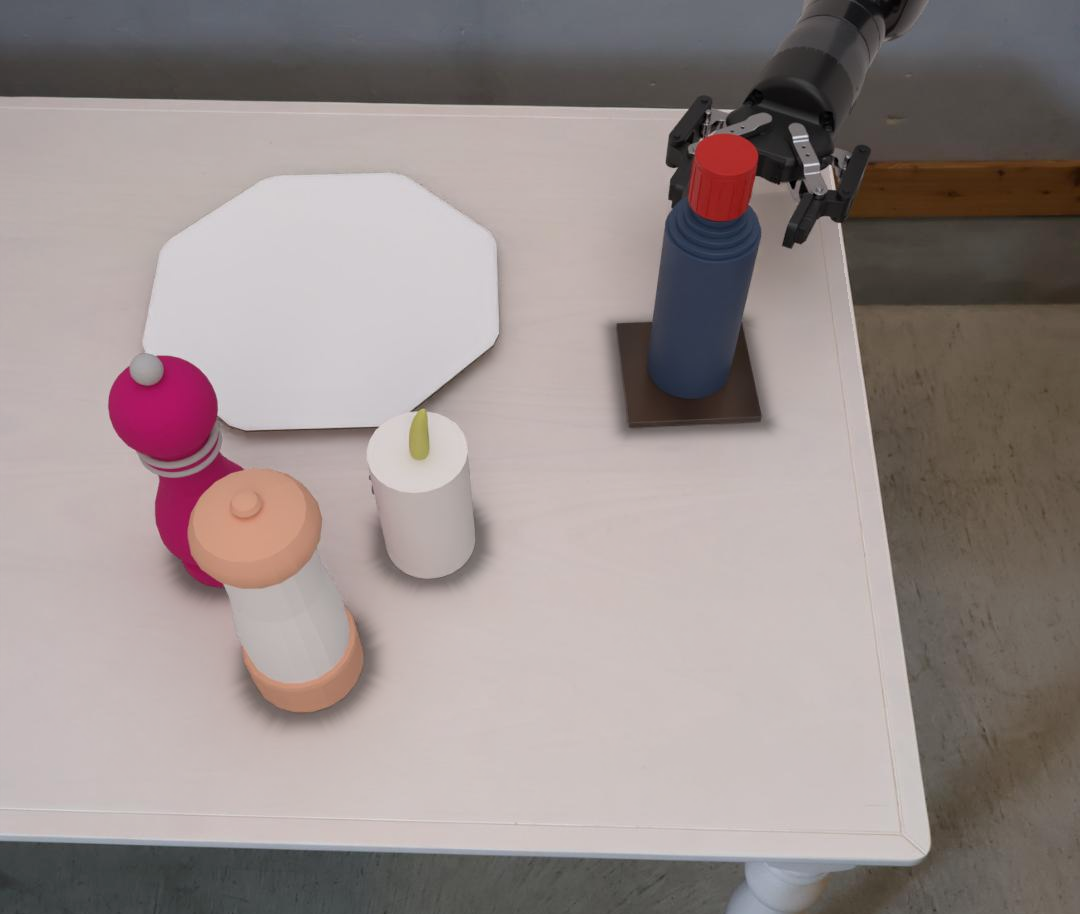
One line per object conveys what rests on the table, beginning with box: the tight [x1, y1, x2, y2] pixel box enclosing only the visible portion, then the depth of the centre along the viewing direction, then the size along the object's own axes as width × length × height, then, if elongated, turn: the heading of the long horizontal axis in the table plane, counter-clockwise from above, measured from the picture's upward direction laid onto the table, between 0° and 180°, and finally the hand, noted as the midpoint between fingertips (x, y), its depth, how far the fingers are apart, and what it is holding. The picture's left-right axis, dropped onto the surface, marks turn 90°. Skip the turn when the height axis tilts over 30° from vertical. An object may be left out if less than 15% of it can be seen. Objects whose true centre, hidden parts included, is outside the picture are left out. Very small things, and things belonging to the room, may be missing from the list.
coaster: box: [615, 321, 763, 429], centre depth 86 cm, size 10×10×1 cm
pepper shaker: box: [188, 468, 365, 713], centre depth 65 cm, size 7×7×19 cm
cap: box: [688, 133, 758, 221], centre depth 70 cm, size 4×4×4 cm
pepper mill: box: [107, 352, 245, 588], centre depth 69 cm, size 7×7×20 cm
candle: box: [366, 408, 476, 580], centre depth 71 cm, size 6×6×15 cm
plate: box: [141, 172, 500, 433], centre depth 89 cm, size 28×28×2 cm
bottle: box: [647, 196, 763, 399], centre depth 77 cm, size 6×6×20 cm
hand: (732, 219), depth 79 cm, fingers open, 8 cm apart
